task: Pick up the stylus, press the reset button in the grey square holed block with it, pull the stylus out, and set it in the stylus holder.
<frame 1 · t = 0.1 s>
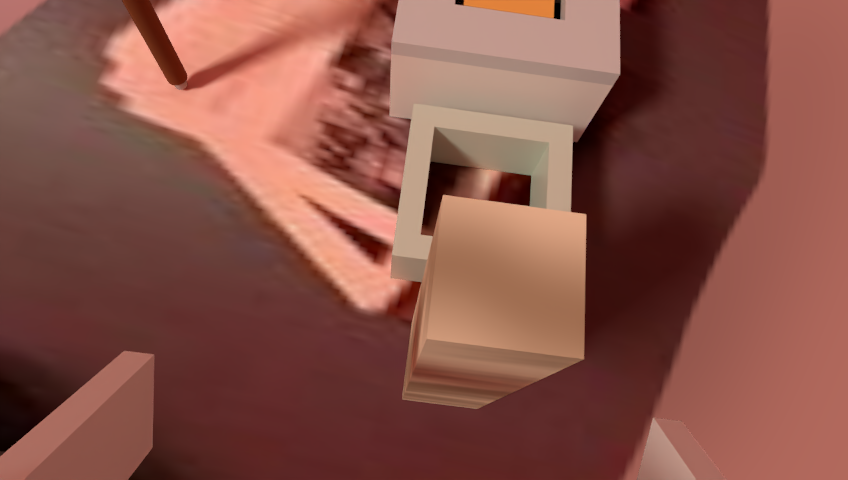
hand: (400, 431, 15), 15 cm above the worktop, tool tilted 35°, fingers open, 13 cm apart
stylus holder: (475, 215, 34), on the worktop
stylus: (443, 365, 31), on the worktop
magnifying glass: (183, 89, 36), on the worktop
grey square holed block: (490, 52, 38), on the worktop
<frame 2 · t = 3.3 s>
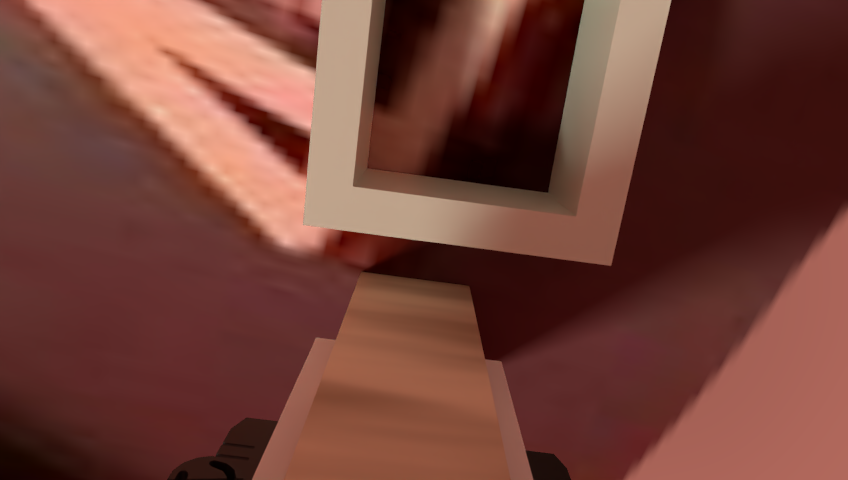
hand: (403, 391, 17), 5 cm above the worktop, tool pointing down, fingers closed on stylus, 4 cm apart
stylus holder: (472, 87, 19), on the worktop
stylus: (408, 329, 22), on the worktop, touching gripper
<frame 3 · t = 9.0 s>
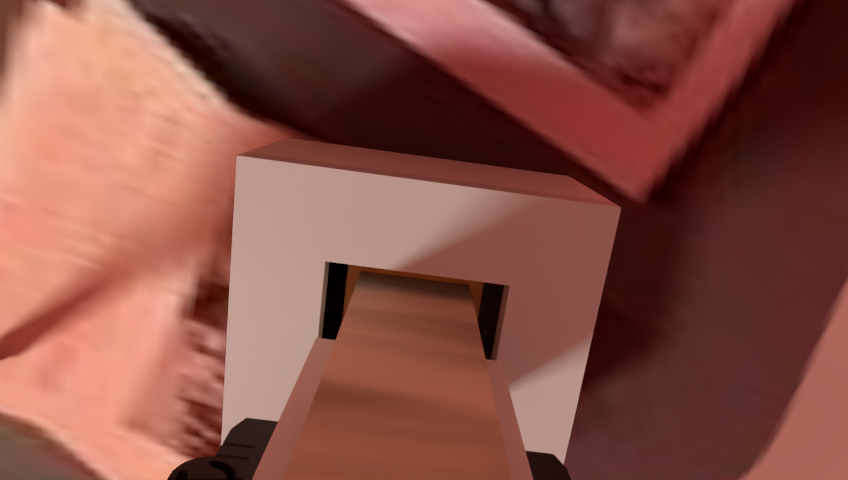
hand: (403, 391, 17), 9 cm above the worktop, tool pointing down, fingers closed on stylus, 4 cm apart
stylus: (408, 328, 22), point 5 cm above the worktop, touching gripper, reset button
grey square holed block: (411, 288, 26), on the worktop
reset button: (409, 314, 23), point 3 cm above the worktop, slide at 1.9 cm, touching stylus
when the fingers open (6 cm above the worktop, at t = 15.6 s): stylus drops 1 cm, resting in stylus holder.
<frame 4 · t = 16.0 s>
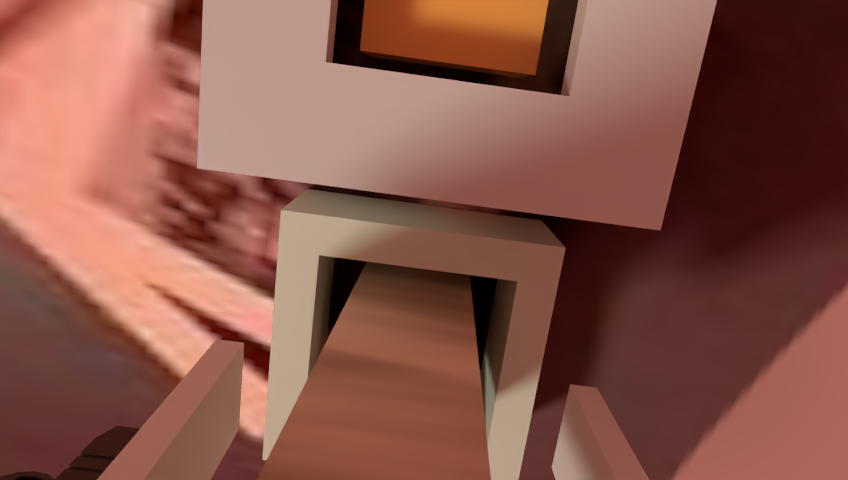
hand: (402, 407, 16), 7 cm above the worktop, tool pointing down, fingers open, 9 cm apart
stylus holder: (409, 314, 23), on the worktop
stylus: (412, 313, 23), resting in stylus holder
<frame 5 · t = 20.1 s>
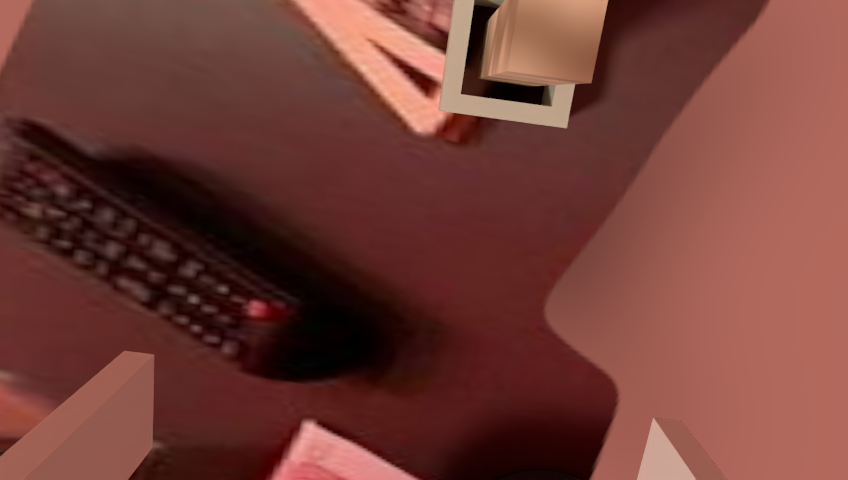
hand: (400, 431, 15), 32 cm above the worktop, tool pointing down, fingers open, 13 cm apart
stylus holder: (506, 56, 43), on the worktop
stylus: (507, 55, 43), resting in stylus holder
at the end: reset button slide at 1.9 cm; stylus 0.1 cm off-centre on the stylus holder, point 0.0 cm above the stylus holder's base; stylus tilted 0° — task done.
